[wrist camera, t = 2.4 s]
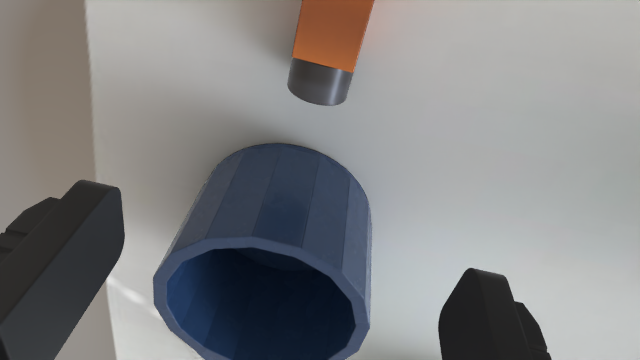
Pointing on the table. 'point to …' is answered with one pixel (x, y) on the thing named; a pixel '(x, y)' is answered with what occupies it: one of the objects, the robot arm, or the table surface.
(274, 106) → the table surface
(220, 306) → the tin
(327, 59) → the handle
